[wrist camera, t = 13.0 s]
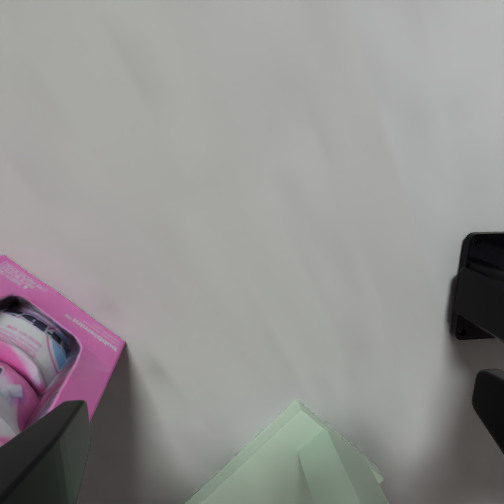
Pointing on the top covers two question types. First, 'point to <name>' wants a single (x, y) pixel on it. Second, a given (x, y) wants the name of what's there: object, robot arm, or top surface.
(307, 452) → the pale green l-shaped piece
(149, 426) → the top surface
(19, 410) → the gum box
